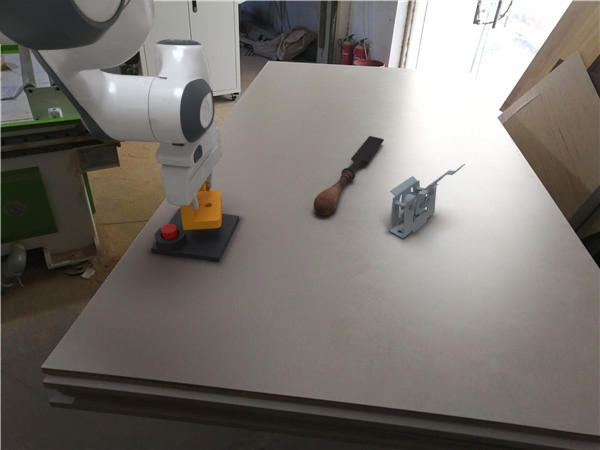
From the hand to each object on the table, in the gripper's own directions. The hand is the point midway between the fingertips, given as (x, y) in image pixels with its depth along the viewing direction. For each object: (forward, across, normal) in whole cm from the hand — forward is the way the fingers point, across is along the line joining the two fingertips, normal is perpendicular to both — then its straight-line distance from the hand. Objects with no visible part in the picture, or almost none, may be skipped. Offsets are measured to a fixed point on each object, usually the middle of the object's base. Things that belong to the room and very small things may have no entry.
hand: (201, 198), depth 81 cm
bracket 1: (+5, 0, 0) cm, 5 cm away
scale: (+9, +1, -1) cm, 9 cm away
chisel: (+9, -30, +29) cm, 43 cm away
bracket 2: (+9, -12, +44) cm, 47 cm away
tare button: (+6, +5, -5) cm, 10 cm away
